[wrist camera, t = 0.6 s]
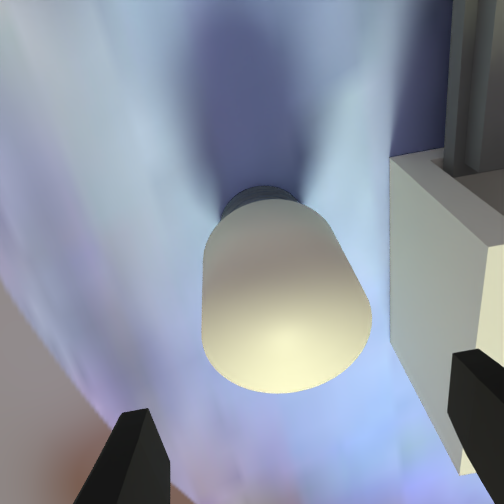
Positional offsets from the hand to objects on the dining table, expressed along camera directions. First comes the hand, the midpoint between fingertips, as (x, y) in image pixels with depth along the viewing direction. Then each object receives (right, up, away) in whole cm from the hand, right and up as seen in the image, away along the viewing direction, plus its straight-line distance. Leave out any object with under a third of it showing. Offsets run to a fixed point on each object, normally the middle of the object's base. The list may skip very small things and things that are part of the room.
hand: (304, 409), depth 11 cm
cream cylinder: (-1, +3, +6) cm, 7 cm away
